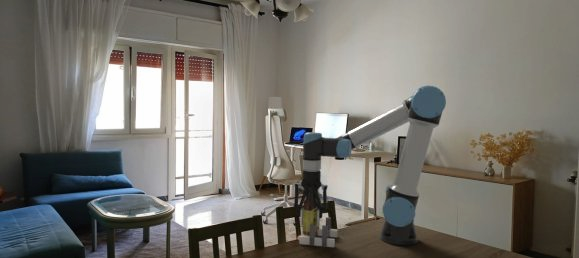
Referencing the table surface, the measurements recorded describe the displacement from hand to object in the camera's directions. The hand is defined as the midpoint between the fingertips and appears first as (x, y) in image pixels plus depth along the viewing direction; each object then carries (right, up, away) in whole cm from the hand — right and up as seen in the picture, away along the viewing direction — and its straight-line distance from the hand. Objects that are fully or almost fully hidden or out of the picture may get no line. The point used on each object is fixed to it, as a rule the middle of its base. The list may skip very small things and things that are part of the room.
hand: (309, 224), depth 164 cm
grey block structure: (+4, -6, 0) cm, 7 cm away
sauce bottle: (0, -4, 0) cm, 4 cm away
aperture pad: (-1, -6, +1) cm, 6 cm away
